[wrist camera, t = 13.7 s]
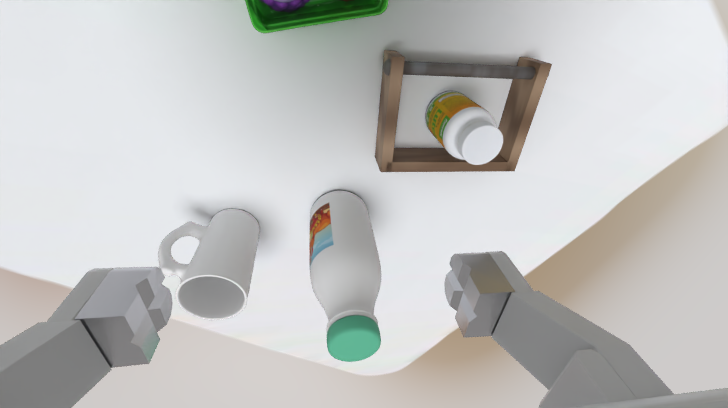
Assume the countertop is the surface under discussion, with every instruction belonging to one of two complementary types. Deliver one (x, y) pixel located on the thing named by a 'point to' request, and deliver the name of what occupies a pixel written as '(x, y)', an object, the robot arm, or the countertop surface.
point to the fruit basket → (308, 12)
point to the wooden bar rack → (521, 95)
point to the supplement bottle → (464, 128)
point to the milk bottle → (345, 274)
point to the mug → (214, 264)
